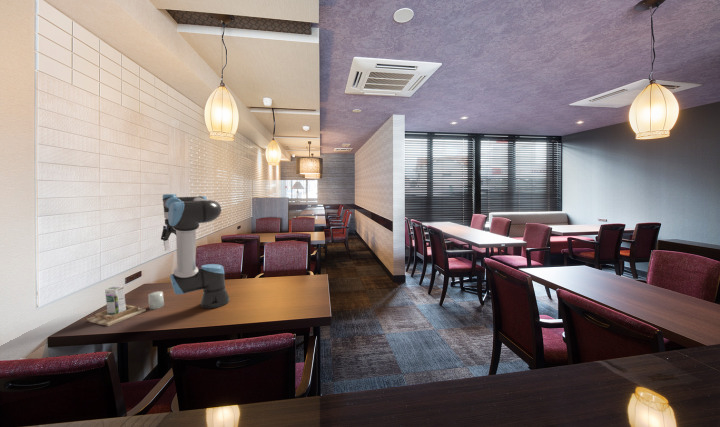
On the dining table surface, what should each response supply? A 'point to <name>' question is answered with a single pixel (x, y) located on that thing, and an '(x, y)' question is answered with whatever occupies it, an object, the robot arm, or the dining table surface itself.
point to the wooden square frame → (115, 316)
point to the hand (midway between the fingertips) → (174, 251)
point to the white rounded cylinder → (156, 300)
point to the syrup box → (115, 300)
